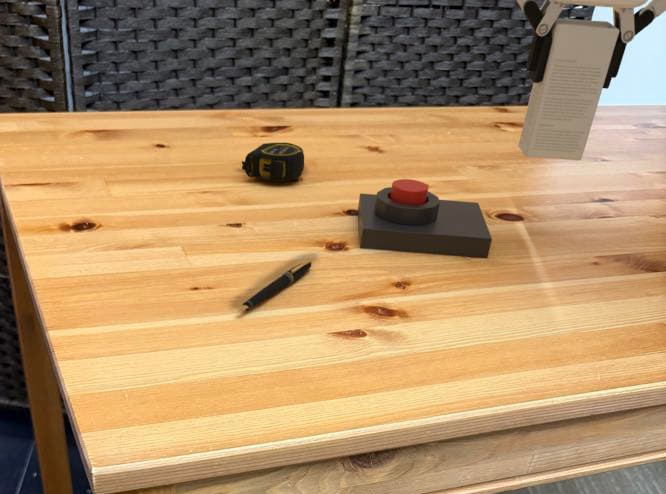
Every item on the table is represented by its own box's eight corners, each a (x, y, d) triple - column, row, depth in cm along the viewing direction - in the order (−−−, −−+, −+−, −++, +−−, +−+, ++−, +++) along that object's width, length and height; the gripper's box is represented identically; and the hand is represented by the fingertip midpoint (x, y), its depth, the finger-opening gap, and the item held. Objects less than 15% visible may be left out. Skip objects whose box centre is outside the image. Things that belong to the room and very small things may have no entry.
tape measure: (262, 166, 108) (264, 136, 105) (310, 176, 106) (313, 145, 104) (241, 181, 103) (242, 150, 101) (290, 191, 101) (292, 160, 99)
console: (474, 221, 97) (481, 186, 95) (487, 258, 89) (496, 222, 86) (357, 212, 97) (362, 177, 95) (359, 248, 89) (365, 211, 87)
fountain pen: (241, 321, 75) (242, 306, 74) (230, 317, 75) (231, 302, 74) (315, 269, 84) (317, 255, 83) (306, 266, 85) (307, 252, 84)
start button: (423, 196, 92) (426, 180, 91) (427, 209, 89) (430, 192, 88) (388, 193, 92) (391, 177, 91) (390, 206, 89) (393, 189, 88)
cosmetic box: (571, 149, 88) (609, 21, 80) (581, 162, 85) (622, 29, 77) (515, 145, 88) (548, 16, 80) (523, 157, 85) (558, 24, 77)
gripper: (716, -145, 73) (642, 80, 85) (524, -160, 73) (477, 67, 85) (749, -141, 67) (664, 99, 79) (540, -158, 67) (487, 84, 79)
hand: (568, 80), depth 82 cm, fingers closed on cosmetic box, 6 cm apart
